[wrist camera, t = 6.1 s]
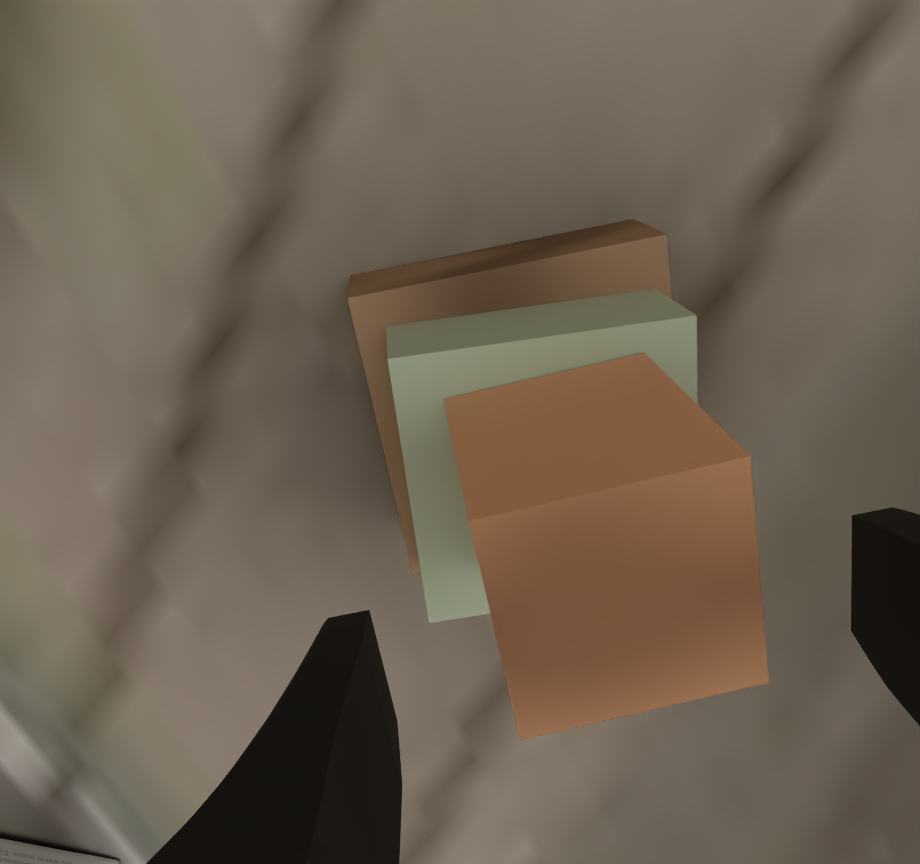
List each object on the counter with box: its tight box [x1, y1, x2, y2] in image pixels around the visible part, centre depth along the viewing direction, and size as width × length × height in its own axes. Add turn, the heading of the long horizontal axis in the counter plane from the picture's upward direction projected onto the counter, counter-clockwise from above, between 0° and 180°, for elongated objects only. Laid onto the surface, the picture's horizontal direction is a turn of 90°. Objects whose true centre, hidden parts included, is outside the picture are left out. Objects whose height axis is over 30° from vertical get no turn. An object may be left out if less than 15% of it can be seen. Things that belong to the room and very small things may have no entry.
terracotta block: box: [443, 353, 769, 740], centre depth 15 cm, size 4×4×5 cm
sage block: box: [386, 289, 698, 623], centre depth 18 cm, size 6×6×2 cm
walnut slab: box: [347, 219, 672, 575], centre depth 21 cm, size 7×7×3 cm
